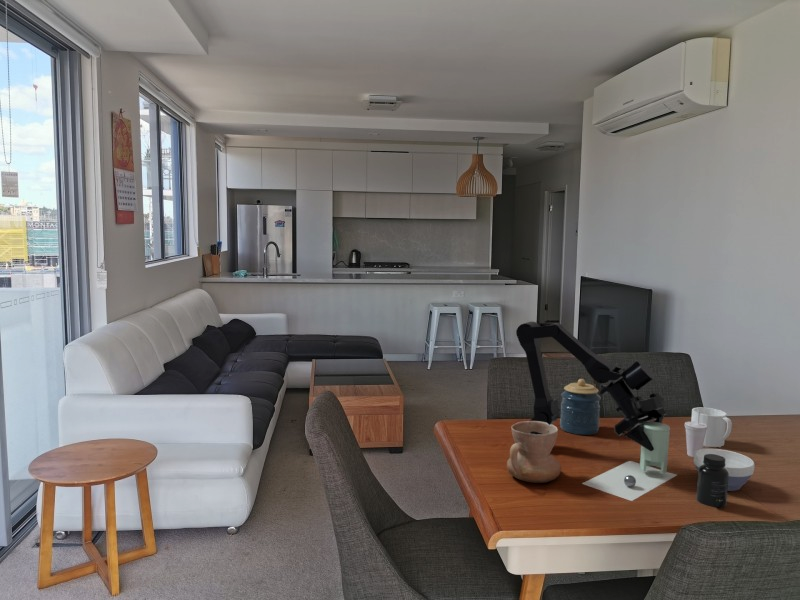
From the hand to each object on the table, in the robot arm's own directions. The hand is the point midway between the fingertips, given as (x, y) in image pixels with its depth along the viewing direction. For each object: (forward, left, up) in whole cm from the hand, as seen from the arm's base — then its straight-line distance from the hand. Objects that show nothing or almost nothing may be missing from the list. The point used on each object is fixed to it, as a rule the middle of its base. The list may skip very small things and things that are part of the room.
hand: (659, 447), depth 170 cm
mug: (+17, +37, -9) cm, 42 cm away
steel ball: (-7, -11, -6) cm, 15 cm away
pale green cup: (-1, +1, -7) cm, 7 cm away
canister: (-24, +35, -9) cm, 43 cm away
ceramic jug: (-32, -14, -9) cm, 36 cm away
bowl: (+16, +1, -9) cm, 18 cm away
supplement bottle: (+12, -13, -9) cm, 20 cm away
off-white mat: (-7, -6, -8) cm, 12 cm away
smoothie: (+11, +23, -9) cm, 27 cm away
